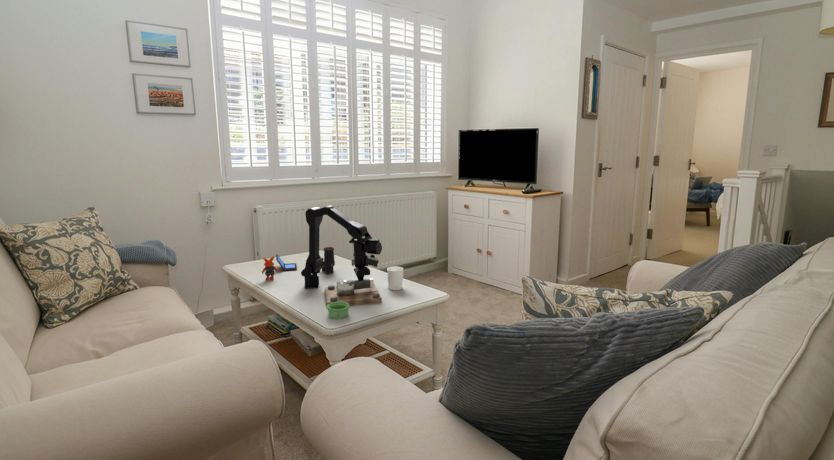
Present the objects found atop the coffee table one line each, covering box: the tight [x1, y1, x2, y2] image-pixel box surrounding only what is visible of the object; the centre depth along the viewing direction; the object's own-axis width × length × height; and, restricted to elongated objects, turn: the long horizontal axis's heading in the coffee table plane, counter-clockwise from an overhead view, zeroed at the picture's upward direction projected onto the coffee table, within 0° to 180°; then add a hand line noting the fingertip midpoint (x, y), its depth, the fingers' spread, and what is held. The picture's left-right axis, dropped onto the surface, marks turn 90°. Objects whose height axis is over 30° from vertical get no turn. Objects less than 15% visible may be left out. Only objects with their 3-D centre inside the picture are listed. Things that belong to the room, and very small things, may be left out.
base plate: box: [324, 283, 383, 306], centre depth 209 cm, size 24×21×3 cm
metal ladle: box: [336, 277, 375, 296], centre depth 209 cm, size 17×8×6 cm, turn 113°
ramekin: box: [326, 302, 350, 320], centre depth 188 cm, size 9×9×4 cm
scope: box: [321, 246, 336, 275], centre depth 246 cm, size 8×14×10 cm
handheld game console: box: [275, 254, 298, 272], centre depth 254 cm, size 12×11×7 cm
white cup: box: [386, 265, 404, 291], centre depth 221 cm, size 8×8×10 cm
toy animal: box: [261, 256, 278, 282], centre depth 234 cm, size 8×6×12 cm
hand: (361, 284), depth 213 cm, fingers closed
